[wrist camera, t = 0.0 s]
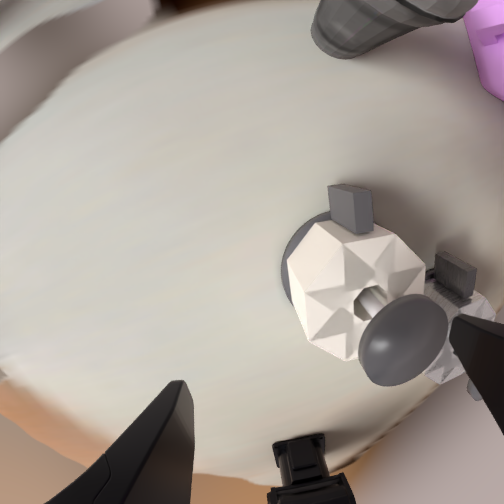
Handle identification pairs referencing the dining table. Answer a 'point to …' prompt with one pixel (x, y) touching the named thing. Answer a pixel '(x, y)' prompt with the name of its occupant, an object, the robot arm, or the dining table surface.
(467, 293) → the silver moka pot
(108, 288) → the dining table surface
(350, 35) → the beverage cup
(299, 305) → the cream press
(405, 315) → the cream plunger
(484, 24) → the teakettle
